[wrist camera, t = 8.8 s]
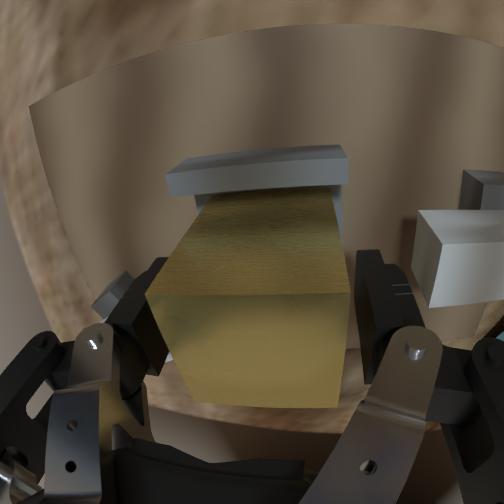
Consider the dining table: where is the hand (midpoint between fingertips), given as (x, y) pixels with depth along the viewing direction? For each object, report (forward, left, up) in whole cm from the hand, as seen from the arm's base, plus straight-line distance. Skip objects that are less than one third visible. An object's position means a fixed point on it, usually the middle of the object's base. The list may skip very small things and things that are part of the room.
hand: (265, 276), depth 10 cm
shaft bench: (0, 0, -5) cm, 5 cm away
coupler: (0, 0, -2) cm, 2 cm away
